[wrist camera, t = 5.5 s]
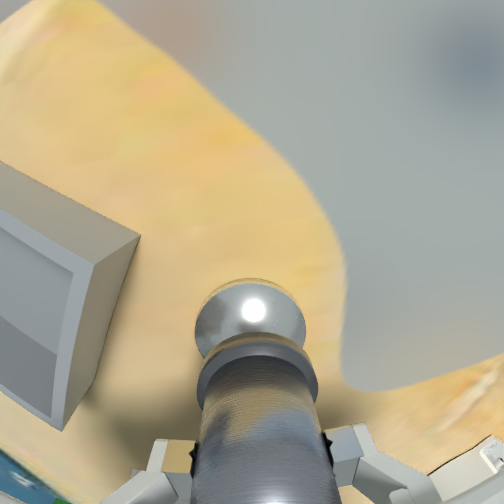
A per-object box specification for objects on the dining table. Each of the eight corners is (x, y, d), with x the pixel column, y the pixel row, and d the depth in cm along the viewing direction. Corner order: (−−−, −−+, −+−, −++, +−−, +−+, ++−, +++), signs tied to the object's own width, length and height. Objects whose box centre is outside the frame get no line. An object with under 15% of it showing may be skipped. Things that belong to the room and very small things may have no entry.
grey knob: (313, 325, 13) (390, 513, 4) (311, 412, 14) (351, 568, 5) (190, 336, 13) (136, 530, 4) (209, 420, 14) (192, 579, 5)
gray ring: (322, 305, 18) (326, 312, 17) (271, 382, 19) (273, 392, 18) (224, 259, 17) (223, 264, 16) (182, 347, 18) (179, 356, 17)
